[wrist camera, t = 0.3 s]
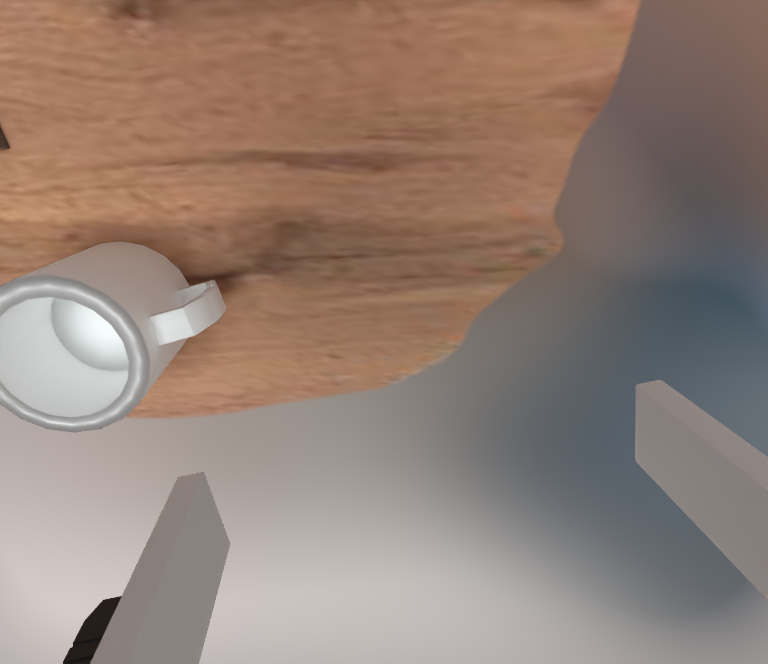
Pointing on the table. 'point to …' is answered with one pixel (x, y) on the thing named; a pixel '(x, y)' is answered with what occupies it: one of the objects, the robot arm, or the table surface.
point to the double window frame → (3, 142)
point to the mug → (95, 333)
